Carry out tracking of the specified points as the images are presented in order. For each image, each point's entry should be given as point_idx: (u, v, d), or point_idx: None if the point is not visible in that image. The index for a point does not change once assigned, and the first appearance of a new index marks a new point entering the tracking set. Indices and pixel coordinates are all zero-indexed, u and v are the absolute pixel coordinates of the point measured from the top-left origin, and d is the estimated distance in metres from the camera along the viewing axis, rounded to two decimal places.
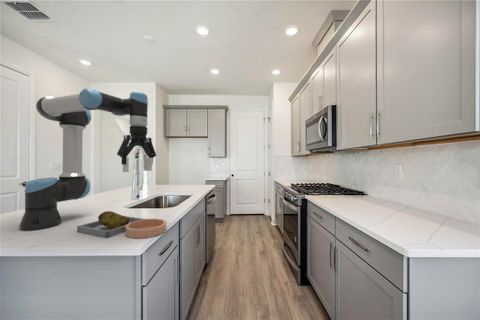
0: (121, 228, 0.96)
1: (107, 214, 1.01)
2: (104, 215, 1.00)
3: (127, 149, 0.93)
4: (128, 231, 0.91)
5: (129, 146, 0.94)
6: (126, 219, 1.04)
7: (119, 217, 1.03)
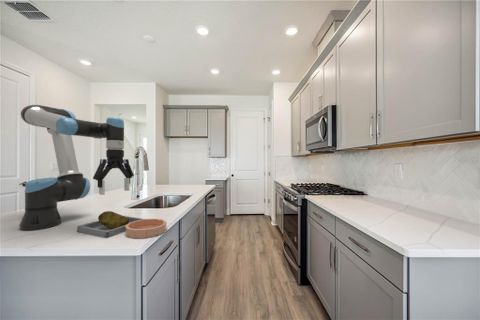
0: (121, 228, 0.96)
1: (107, 214, 1.01)
2: (104, 215, 1.00)
3: (103, 172, 0.98)
4: (128, 231, 0.91)
5: (105, 169, 0.99)
6: (126, 219, 1.04)
7: (119, 217, 1.03)
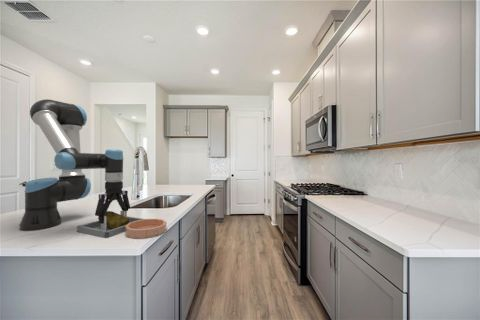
0: (121, 228, 0.96)
1: (107, 214, 1.01)
2: None
3: (104, 208, 0.98)
4: (128, 231, 0.91)
5: (105, 204, 0.99)
6: (126, 219, 1.04)
7: (119, 217, 1.03)
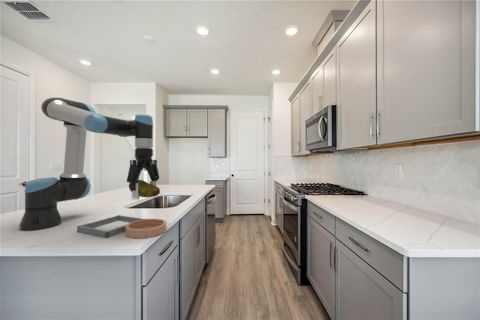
0: (121, 228, 0.96)
1: (138, 182, 0.96)
2: None
3: (135, 174, 0.94)
4: (128, 231, 0.91)
5: (136, 171, 0.94)
6: (157, 188, 0.99)
7: (150, 186, 0.98)
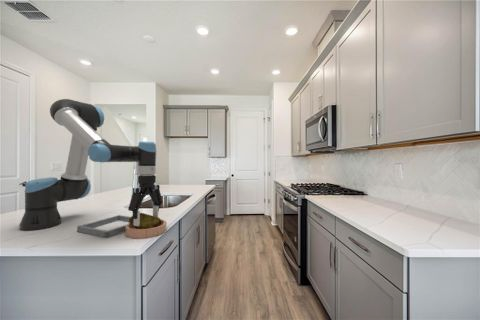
0: (121, 228, 0.96)
1: None
2: None
3: (137, 202, 0.93)
4: (128, 231, 0.91)
5: (139, 198, 0.94)
6: (158, 219, 0.98)
7: (150, 218, 0.97)
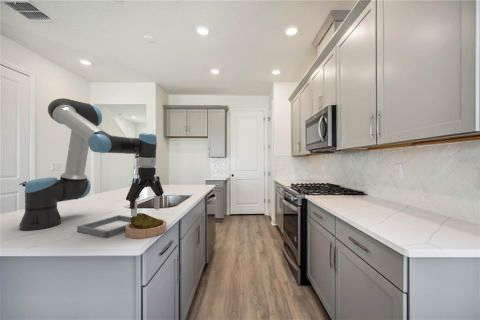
0: (121, 228, 0.96)
1: (140, 216, 0.96)
2: (137, 217, 0.95)
3: (136, 192, 0.92)
4: (128, 231, 0.91)
5: (137, 189, 0.93)
6: (159, 222, 0.98)
7: (152, 219, 0.97)
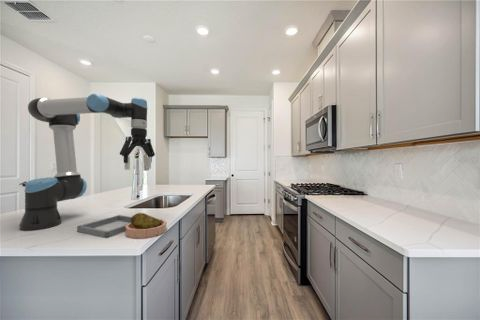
0: (121, 228, 0.96)
1: (140, 216, 0.96)
2: (137, 217, 0.95)
3: (128, 149, 1.04)
4: (128, 231, 0.91)
5: (130, 146, 1.06)
6: (159, 222, 0.98)
7: (152, 219, 0.97)
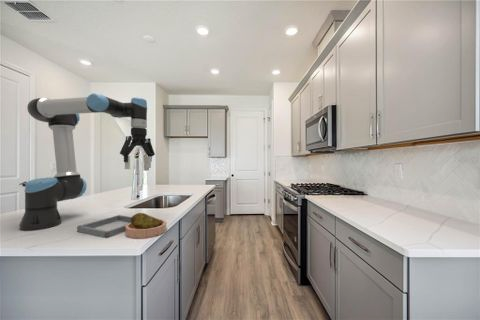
0: (121, 228, 0.96)
1: (140, 216, 0.96)
2: (137, 217, 0.95)
3: (129, 149, 1.05)
4: (128, 231, 0.91)
5: (130, 146, 1.06)
6: (159, 222, 0.98)
7: (152, 219, 0.97)
